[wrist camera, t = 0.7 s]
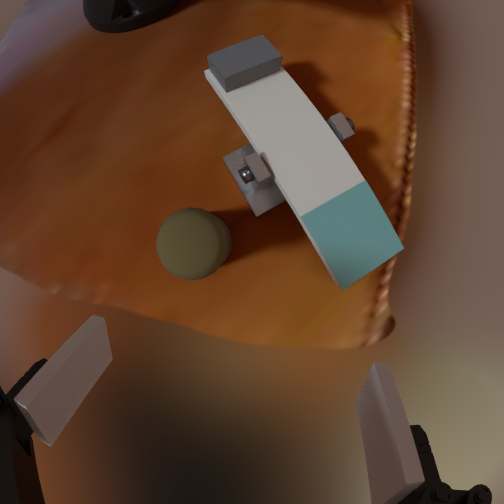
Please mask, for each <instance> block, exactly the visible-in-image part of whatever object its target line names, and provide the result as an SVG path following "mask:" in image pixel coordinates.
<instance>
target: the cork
mask: <svg viewBox="0 0 504 504" xmlns="http://www.w3.org/2000/svg"><path fill="white" fill-rule="evenodd" d="M231 247H232V237H231V232H230V230H229V228H228V227H227V225H226V223H225V222H224V221H223V220H221V219H220V218H219V217H217V216H215V215H213V214H212V213H210V212H208V211H205V210H203V209H200V208H186V209H182V210H178V211H177V212H175V213H173V214H172V215H170V216H169V217H168V218H167V219H166V220H165V222H164V223H163V224H162V225H161V228H160V230H159V233H158V235H157V251H158V255H159V258H160V260H161V262H162V263H163V265H164V267H165V268H166V269H167V270H169V271H170V272H171V273H172V274H173V275H175V276H177V277H180V278H182V279H188V280H197V279H202V278H205V277H207V276H209V275H211V274H212V273H214V272H215V271H216V270H217V269H218V268H219V267H220V265H222V264H223V262H224V261H225V260H226V259H227V258H228V256H229V253H230V251H231Z"/></svg>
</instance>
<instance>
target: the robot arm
mask: <svg viewBox="0 0 504 504" xmlns="http://www.w3.org/2000/svg"><path fill="white" fill-rule="evenodd" d="M180 1H181V0H83V10H84V15H85V17H86V19H87V20H88V22H89V23H90V25H91V26H92V27H93V28H94V29H96V30H98V31H101V32H108V33H116V32H124V31H129V30H133V29H136V28H139V27H142V26H145V25H147V24H150V23H152V22H154V21H156V20H158V19H159V18H161V17H163V16H164V15H166V14H167V13H169V12H170V11H171V10H173V9H174V8H175V7H176V6H177V5H178V4H179V3H180ZM111 361H112V354H111V349H110V345H109V339H108V335H107V329H106V323H105V318H102V317H99V316H96V315H92V316H91V317H90V318H89V319H88V320H87V321H86V322H85V323H84V324H83V325H82V326H81V327H80V328H79V329H78V330H77V331H76V332H75V333H74V334H73V335H72V336H71V337H70V338H69V339H68V340H67V341H66V342H65V343H64V344H63V345H62V346H61V347H60V348H59V349H58V351H57V352H56V353H55V354H54V355H53V356H52V357H51V358H50V359H49V360H47V359H44V358H43V359H41V360H40V361H38V362H36V363H35V364H34V365H33V366H32V367H31V368H30V369H29V371H27V372H26V373H25V374H24V376H23V377H21V379H20V380H19V381H18V382H17V383H16V384H15V385H14V386H13V387H12V388H11V390H10V391H9V392H8V393H7V394H6V395H5V394H4V392H3V390H2V388H1V387H0V504H45V501H44V497H43V493H42V489H41V485H40V481H39V475H38V470H37V465H36V459H35V453H34V446H33V440H32V437H31V435H32V433H33V432H34V433H35V435H36V436H37V438H38V439H39V440H41V441H42V442H44V443H46V444H47V445H49V446H52V445H53V443H54V442H55V440H56V439H57V437H58V436H59V434H60V433H61V431H62V430H63V428H64V427H65V425H66V424H67V423H68V421H69V420H70V418H71V417H72V415H73V414H74V412H75V411H76V409H77V408H78V407H79V405H80V404H81V402H82V401H83V399H84V398H85V397H86V395H87V393H88V392H89V391H90V389H91V388H92V387H93V385H94V384H95V382H96V381H97V380H98V378H99V377H100V376H101V374H102V373H103V371H104V370H105V369H106V367H107V366H108V365H109V363H110V362H111ZM356 404H357V410H358V416H359V421H360V427H361V432H362V438H363V445H364V450H365V457H366V464H367V471H368V478H369V486H370V494H371V502H372V504H491V501H492V494H491V491H490V489H489V488H488V487H487V486H485V485H482V484H480V485H476V486H474V487H473V488H472V489H470V490H469V491H466V490H453V489H451V487H450V486H449V485H448V484H446V483H444V482H441V479H440V477H439V473H438V470H437V466H436V463H435V460H434V456H433V453H432V452H431V447H430V445H429V441H428V438H427V435H426V433H425V432H424V430H423V429H422V428H421V426H420V425H411V426H409V423H408V419H407V417H406V413H405V410H404V407H403V404H402V401H401V398H400V395H399V392H398V390H397V387H396V384H395V381H394V378H393V375H392V373H391V370H390V367H389V364H388V363H373V366H372V368H371V370H370V372H369V375H368V377H367V379H366V381H365V383H364V385H363V387H362V390H361V391H360V394H359V396H358V398H357V400H356Z"/></svg>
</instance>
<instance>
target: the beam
mask: <svg viewBox="0 0 504 504" xmlns="http://www.w3.org/2000/svg"><path fill="white" fill-rule="evenodd" d="M207 59H208V64H209V69H208V70H206V71H204V72H205V76H206V79H207V80H208V82H209V83H210V84H211V86H212V87H213V89H214V90H215V91H216V93H217V94H218V96H219V97H220V99H221V100H222V101H223V103H224V104H225V106H226V107H227V109H228V110H229V112H230V113H231V115H232V116H233V118H234V119H235V121H236V122H237V123H238V125H239V126H240V128H241V129H242V131H243V132H244V134H245V136H246V137H247V139H248V140H249V142H250V143H251V145H252V146H253V148H254V149H255V151H257V153H258V154H259V156H260V158H261V159H262V161H263V163H264V164H265V166H266V168H267V169H268V171H269V173H270V174H271V176H272V177H273V179H274V181H275V182H276V184H277V185H278V187H279V189H280V190H281V192H282V194H283V195H284V197H285V198H286V200H287V202H288V203H289V205H290V207H291V208H292V210H293V212H294V213H295V215H296V217H297V218H298V220H299V222H300V223H301V225H302V227H303V229H304V230H305V232H306V234H307V235H308V237H309V239H310V240H311V242H312V244H313V246H314V247H315V249H316V251H317V253H318V254H319V256H320V258H321V260H322V261H323V263H324V265H325V267H326V269H327V270H328V272H329V274H330V276H331V278H332V279H333V281H334V283H335V285H340V287H341V289H342V290H344V289H345V288H347V287H348V286H350V285H351V284H353V283H354V282H356V281H357V280H359V279H360V278H362V277H363V276H365V275H366V274H368V273H369V272H371V271H372V270H374V269H375V268H377V267H378V266H380V265H381V264H383V263H384V262H386V261H387V260H388V259H390V258H391V257H393V256H394V255H396V254H397V253H398V252H400V251H401V250H403V249H404V247H403V245H402V243H401V241H400V239H399V237H398V236H397V234H396V232H395V230H394V228H393V226H392V224H391V223H390V221H389V219H388V217H387V215H386V214H385V212H384V210H383V208H382V206H381V205H380V203H379V201H378V200H377V198H376V196H375V195H374V193H373V191H372V189H371V188H370V186H369V185H368V183H367V181H366V180H365V179H364V177H363V176H362V174H361V173H360V171H359V170H358V168H357V166H356V165H355V163H354V162H353V160H352V159H351V157H350V156H349V154H348V153H347V151H346V150H345V148H344V147H343V145H342V144H341V142H340V141H339V139H338V138H337V137H336V135H335V134H334V132H333V131H332V130H331V128H330V127H329V125H328V124H327V123H326V121H325V120H324V119H323V117H322V116H321V114H320V113H319V112H318V110H317V109H316V108H315V107H314V105H313V104H312V103H311V101H310V100H309V99H308V97H307V96H306V95H305V94H304V92H303V91H302V90H301V89H300V87H299V86H298V85H297V84H296V83H295V81H294V80H293V79H292V78H291V76H290V75H289V74H288V73H287V72H286V71H285V69H284V68H283V67H282V66H281V61H282V55H281V54H280V53H279V52H278V51H277V50H276V49H275V47H274V46H273V45H272V44H271V43H270V42H269V41H268V40H267V39H266V38H265V37H264V36H263V35H260V36H257V37H254V38H251V39H248V40H245V41H242V42H240V43H237V44H234V45H232V46H229V47H227V48H224V49H222V50H219V51H217V52H214V53H212V54H209V55H207Z"/></svg>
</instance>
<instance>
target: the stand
mask: <svg viewBox="0 0 504 504" xmlns="http://www.w3.org/2000/svg"><path fill="white" fill-rule="evenodd" d="M318 112H319V111H318ZM319 113H320V112H319ZM321 116H322V115H321ZM323 119H324V118H323ZM326 123H327V124H328V125H329V127H330V128H331V130H332V131H333V132H334V134H335V135H336V137H337V138H338V139H339V141H340V142H341V144H343V143H344V142H345V141H346V140H348V139H349V138H350V137H351V136H353V135H354V134H355V133H354V132H353V130H354V124H353V122H352V121H351V119H349V118H345V117H344V116H343V114H342V113H341V112H340V113H338V114H335V115H333V116H331V117H330V118H329V119H328V120H327V122H326ZM222 158H223V161H224V163H225V165H226V167H227V168H228V170H229V172H230V173H231V175H232V177H233V179H234V180H235V182H236V184H237V186H238V187H239V189H240V191H241V192H242V194H243V196H244V198H245V199H246V201H247V203H248V205H249V206H250V208H251V210H252V212H253V213H254V215H255V217H257V216H259V215H261V214H262V213H264V212H266V211H268V210H270V209H271V208H273V207H275V206H277V205H279V204H280V203H282V202H284V201H286V198H285V197H284V195H283V194H282V192H281V190H280V189H279V187H278V185H277V184H276V182H275V181H274V179H273V177H272V176H271V174H270V173H269V171H268V169H267V168H266V166H265V164H264V163H263V161H262V159H261V158H260V156H259V154H258V153H257V151H255V149H254V148H253V146H252V145H251V143H250V144H248V145H246V146H244V147H242V148H240V149H238V150H236V151H234V152H232V153H230V154H228V155H226V156H224V157H222Z"/></svg>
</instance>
